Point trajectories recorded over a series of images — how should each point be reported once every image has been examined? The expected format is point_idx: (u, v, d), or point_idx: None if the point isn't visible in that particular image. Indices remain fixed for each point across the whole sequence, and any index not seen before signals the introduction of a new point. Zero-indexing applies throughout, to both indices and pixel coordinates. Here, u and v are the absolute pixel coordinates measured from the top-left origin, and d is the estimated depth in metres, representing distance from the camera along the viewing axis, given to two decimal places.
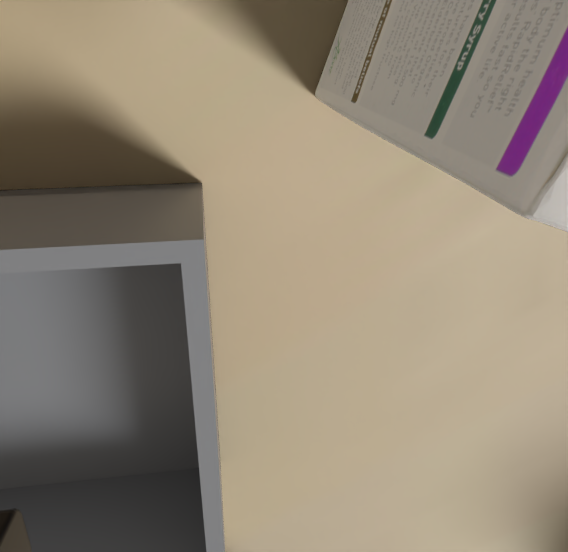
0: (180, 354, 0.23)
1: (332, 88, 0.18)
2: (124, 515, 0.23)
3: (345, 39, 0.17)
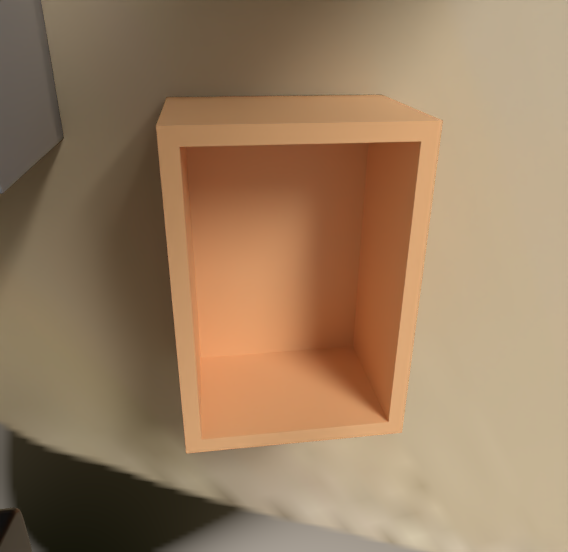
0: None
1: None
2: None
3: None
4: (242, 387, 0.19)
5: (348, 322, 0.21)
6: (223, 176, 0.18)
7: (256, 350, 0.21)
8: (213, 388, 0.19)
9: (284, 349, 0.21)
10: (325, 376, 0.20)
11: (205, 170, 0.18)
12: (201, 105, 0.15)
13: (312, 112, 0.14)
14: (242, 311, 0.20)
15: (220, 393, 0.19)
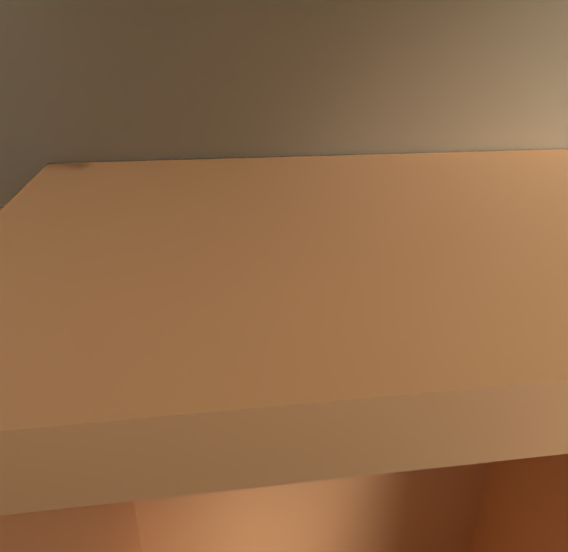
0: None
1: None
2: None
3: None
4: None
5: None
6: None
7: None
8: None
9: None
10: None
11: None
12: (118, 206, 0.05)
13: (483, 253, 0.04)
14: None
15: None
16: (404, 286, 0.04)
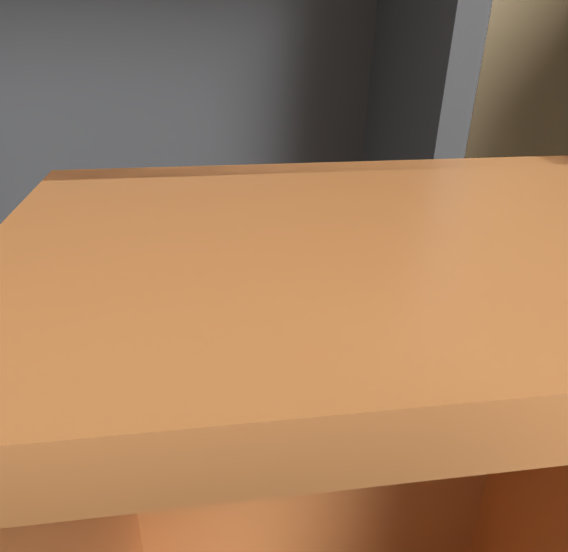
0: None
1: None
2: (406, 2, 0.13)
3: None
4: None
5: None
6: None
7: None
8: None
9: None
10: None
11: None
12: (122, 215, 0.05)
13: (484, 263, 0.04)
14: None
15: None
16: (406, 297, 0.04)
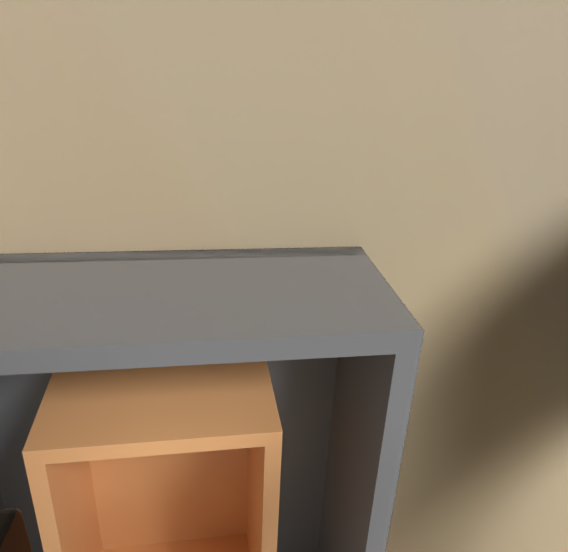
0: None
1: None
2: (354, 393, 0.19)
3: None
4: None
5: (241, 515, 0.23)
6: None
7: (155, 541, 0.23)
8: None
9: (181, 539, 0.23)
10: None
11: None
12: (84, 379, 0.17)
13: (177, 403, 0.16)
14: (140, 512, 0.22)
15: None
16: (148, 415, 0.16)
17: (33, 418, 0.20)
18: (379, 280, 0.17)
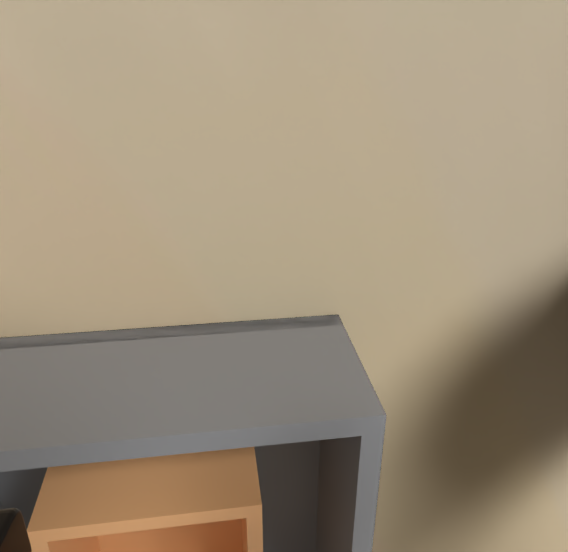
0: None
1: None
2: (334, 455, 0.20)
3: None
4: None
5: None
6: None
7: None
8: None
9: None
10: None
11: None
12: None
13: (166, 476, 0.18)
14: None
15: None
16: (140, 490, 0.17)
17: (40, 481, 0.21)
18: (351, 355, 0.19)
